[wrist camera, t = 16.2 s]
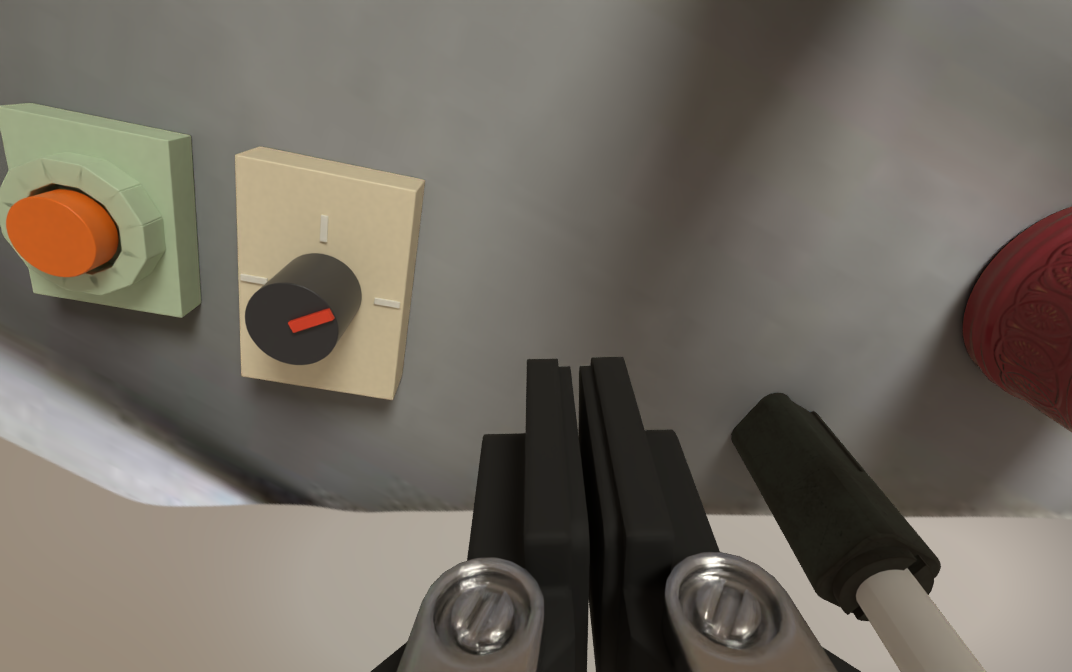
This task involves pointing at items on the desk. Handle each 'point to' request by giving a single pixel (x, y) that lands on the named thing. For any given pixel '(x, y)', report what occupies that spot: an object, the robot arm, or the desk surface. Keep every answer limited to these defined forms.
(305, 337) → the knob
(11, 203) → the button block
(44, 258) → the button
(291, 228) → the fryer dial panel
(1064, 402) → the kitchen canister
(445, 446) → the desk surface
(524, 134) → the desk surface
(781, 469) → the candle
